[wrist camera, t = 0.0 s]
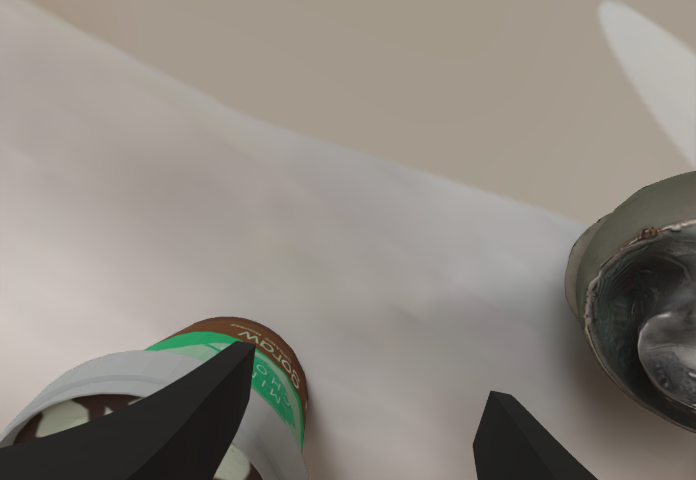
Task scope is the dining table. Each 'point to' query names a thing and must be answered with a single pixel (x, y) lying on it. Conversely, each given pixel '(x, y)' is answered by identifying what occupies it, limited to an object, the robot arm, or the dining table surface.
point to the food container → (168, 366)
